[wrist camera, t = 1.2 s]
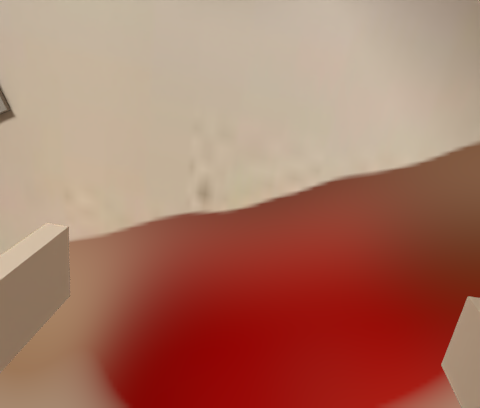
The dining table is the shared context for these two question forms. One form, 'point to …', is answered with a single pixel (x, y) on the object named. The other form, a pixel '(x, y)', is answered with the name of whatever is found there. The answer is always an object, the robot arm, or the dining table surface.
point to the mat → (3, 104)
